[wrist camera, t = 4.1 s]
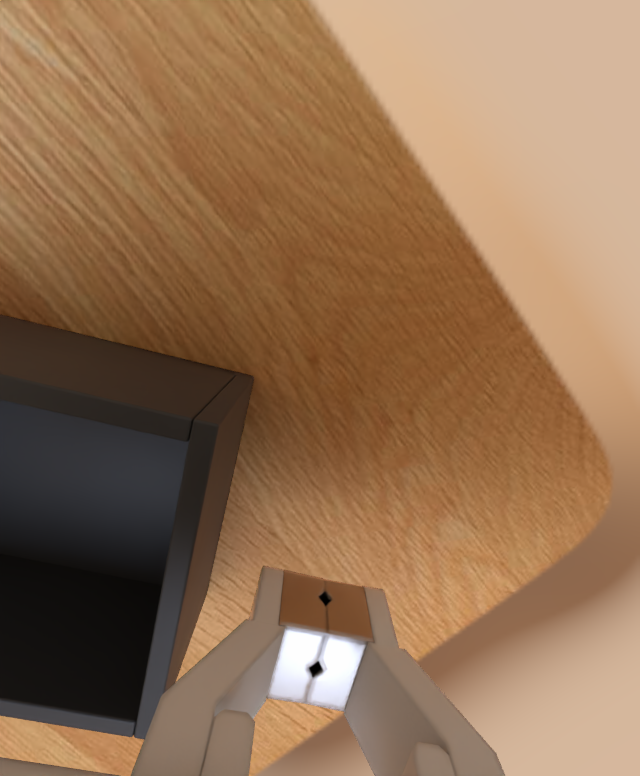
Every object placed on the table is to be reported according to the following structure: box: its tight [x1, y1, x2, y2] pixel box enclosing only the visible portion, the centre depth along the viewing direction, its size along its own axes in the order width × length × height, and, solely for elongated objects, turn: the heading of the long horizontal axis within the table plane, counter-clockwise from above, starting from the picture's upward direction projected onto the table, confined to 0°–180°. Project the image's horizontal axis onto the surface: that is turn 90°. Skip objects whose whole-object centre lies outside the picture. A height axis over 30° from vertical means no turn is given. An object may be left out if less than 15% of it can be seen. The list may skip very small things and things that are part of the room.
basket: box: [0, 315, 254, 739], centre depth 10 cm, size 10×8×4 cm
